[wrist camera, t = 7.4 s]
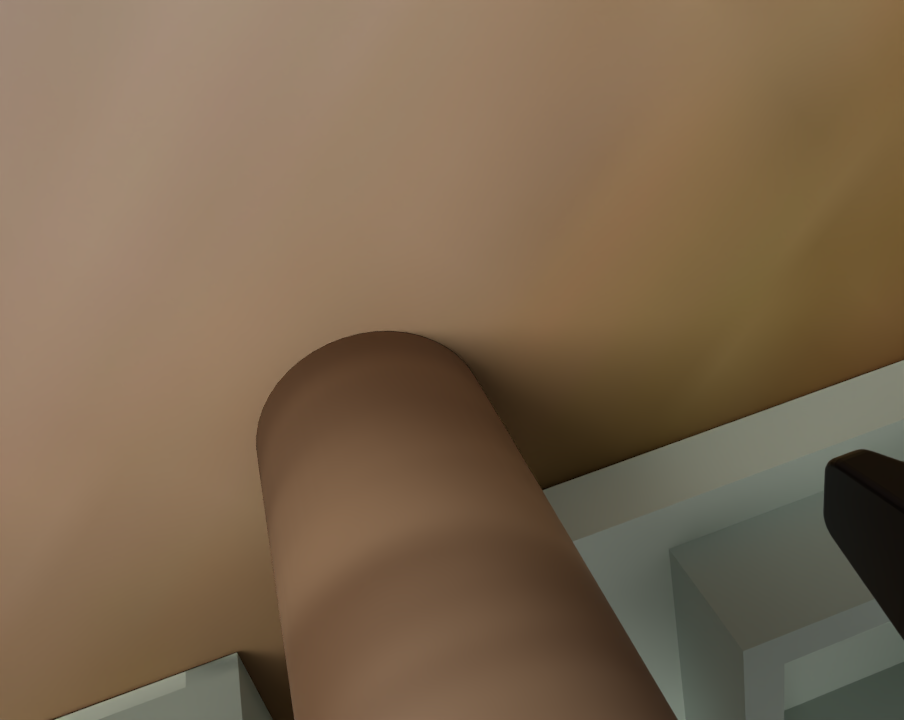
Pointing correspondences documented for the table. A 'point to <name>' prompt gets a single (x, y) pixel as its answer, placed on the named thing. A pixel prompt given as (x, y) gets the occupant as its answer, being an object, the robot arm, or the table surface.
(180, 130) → the table surface
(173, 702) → the box
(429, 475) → the dowel
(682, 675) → the build board
